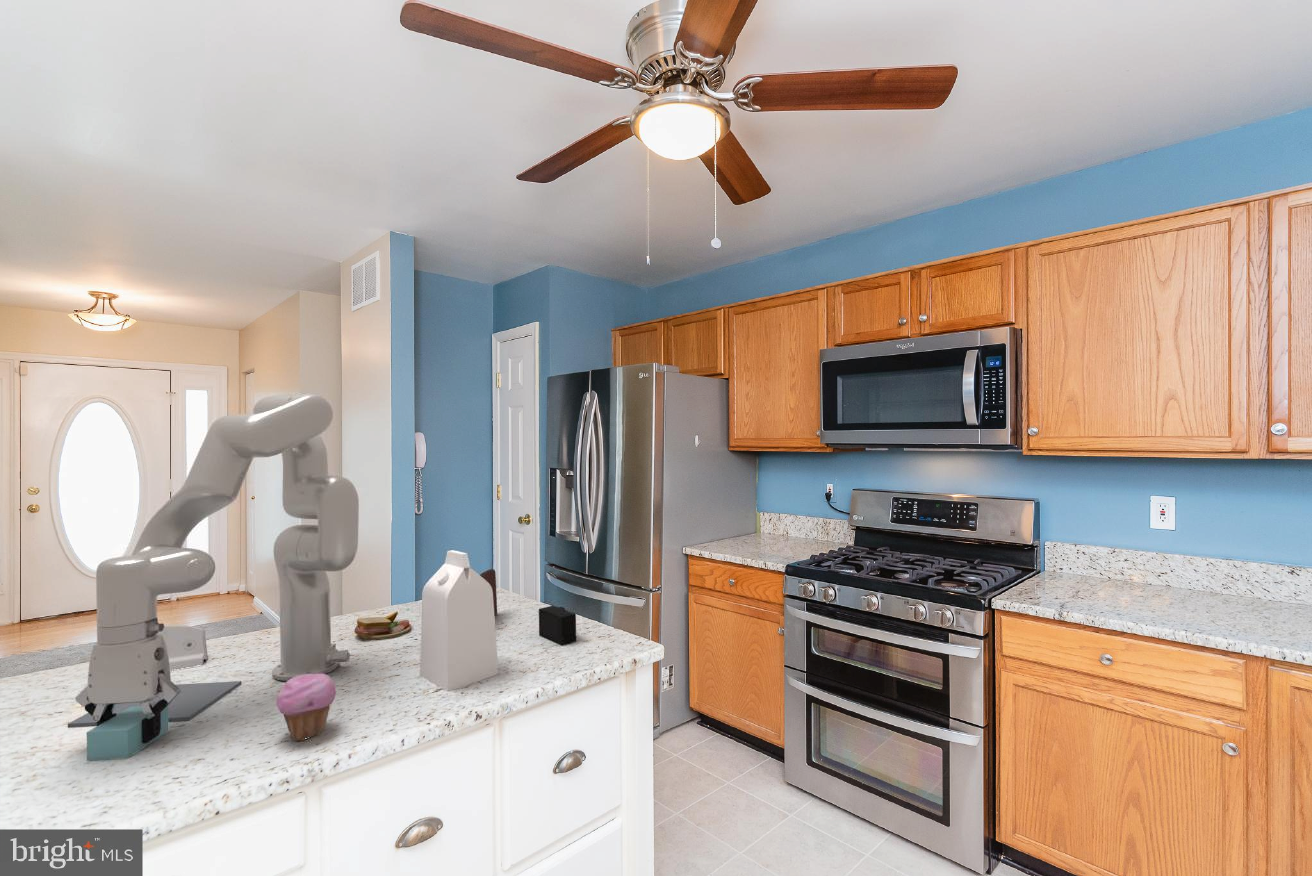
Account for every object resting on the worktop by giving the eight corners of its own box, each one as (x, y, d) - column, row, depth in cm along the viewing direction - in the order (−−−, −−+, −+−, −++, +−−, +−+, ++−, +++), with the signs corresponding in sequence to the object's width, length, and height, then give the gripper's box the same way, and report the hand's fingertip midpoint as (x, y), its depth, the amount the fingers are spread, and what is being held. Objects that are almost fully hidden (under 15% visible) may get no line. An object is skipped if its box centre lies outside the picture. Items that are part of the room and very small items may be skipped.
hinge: (106, 680, 127) (111, 631, 130) (114, 680, 131) (118, 633, 134) (204, 665, 134) (206, 619, 137) (208, 666, 138) (210, 621, 141)
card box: (168, 730, 104) (168, 704, 104) (128, 758, 95) (127, 730, 95) (131, 732, 104) (130, 706, 104) (87, 760, 95) (86, 732, 95)
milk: (498, 674, 127) (496, 551, 127) (447, 691, 119) (445, 560, 119) (469, 660, 135) (467, 545, 135) (419, 675, 127) (417, 552, 127)
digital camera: (580, 640, 147) (580, 612, 147) (562, 646, 144) (561, 617, 144) (557, 631, 155) (556, 604, 155) (539, 636, 151) (538, 608, 151)
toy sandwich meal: (415, 635, 154) (415, 616, 154) (357, 645, 147) (357, 626, 147) (406, 623, 164) (406, 605, 164) (351, 632, 157) (351, 614, 157)
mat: (241, 684, 124) (241, 681, 124) (188, 720, 108) (188, 717, 108) (137, 689, 122) (137, 686, 122) (67, 727, 106) (67, 723, 106)
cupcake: (271, 734, 102) (270, 675, 102) (327, 717, 108) (326, 661, 108) (285, 753, 96) (284, 690, 96) (343, 733, 102) (342, 675, 102)
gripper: (198, 622, 104) (199, 726, 104) (90, 627, 102) (91, 732, 102) (167, 636, 96) (169, 748, 96) (50, 641, 95) (51, 755, 95)
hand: (129, 739), depth 99 cm, fingers closed on card box, 6 cm apart
